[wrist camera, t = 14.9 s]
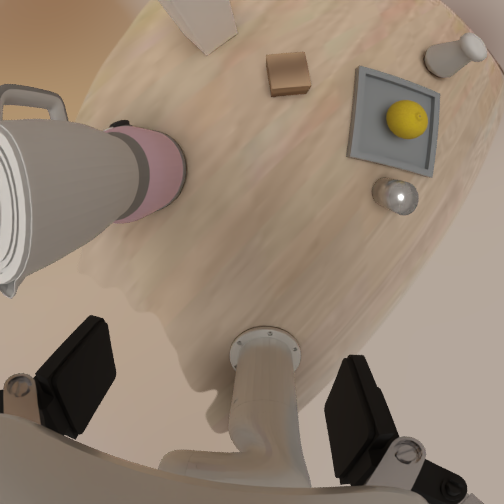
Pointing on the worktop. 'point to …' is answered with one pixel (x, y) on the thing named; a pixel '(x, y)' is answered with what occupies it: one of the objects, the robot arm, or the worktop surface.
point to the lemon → (407, 119)
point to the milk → (203, 21)
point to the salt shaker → (454, 55)
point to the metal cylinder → (395, 195)
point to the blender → (73, 182)
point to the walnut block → (288, 74)
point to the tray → (377, 131)
